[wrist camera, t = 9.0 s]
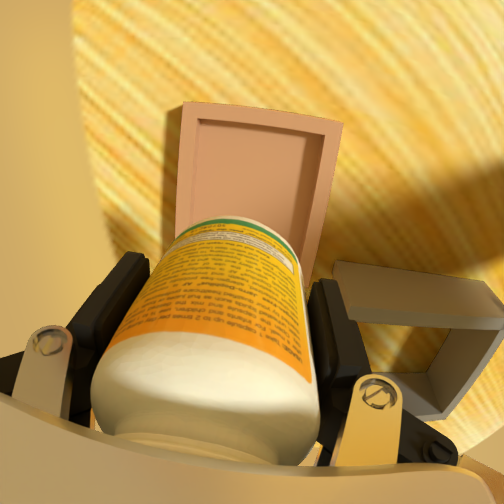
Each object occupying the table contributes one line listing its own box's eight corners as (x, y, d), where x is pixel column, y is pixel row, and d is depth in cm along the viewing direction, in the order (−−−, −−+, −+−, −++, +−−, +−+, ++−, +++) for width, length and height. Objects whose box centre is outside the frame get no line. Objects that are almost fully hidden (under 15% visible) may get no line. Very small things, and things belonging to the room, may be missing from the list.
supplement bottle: (313, 314, 13) (341, 552, 5) (195, 337, 14) (141, 545, 6) (281, 192, 11) (302, 495, 2) (143, 232, 12) (-9, 450, 3)
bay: (335, 260, 24) (350, 305, 19) (483, 281, 24) (514, 318, 19) (299, 375, 30) (302, 424, 25) (429, 379, 30) (445, 419, 25)
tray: (190, 101, 20) (183, 101, 18) (337, 121, 20) (343, 122, 18) (180, 257, 25) (174, 269, 24) (306, 275, 25) (308, 287, 24)
